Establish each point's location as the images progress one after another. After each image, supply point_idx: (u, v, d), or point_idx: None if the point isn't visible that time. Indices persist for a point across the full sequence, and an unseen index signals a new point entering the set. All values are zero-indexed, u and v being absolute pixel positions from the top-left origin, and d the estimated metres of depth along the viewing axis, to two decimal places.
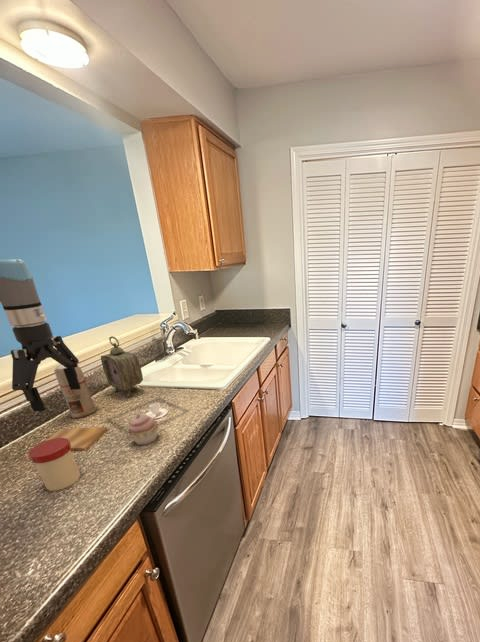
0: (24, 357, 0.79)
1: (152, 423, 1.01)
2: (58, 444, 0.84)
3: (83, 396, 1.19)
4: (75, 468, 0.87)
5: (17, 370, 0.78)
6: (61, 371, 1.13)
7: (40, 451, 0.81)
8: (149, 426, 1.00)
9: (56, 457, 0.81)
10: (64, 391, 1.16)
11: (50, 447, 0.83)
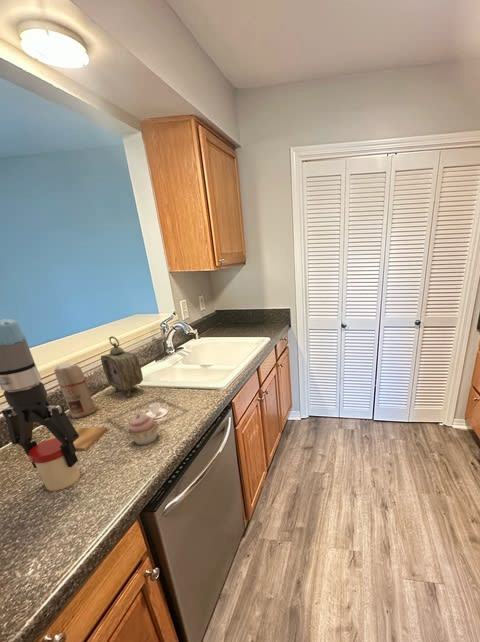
0: (7, 417, 0.78)
1: (152, 423, 1.01)
2: (58, 444, 0.84)
3: (83, 396, 1.19)
4: (75, 468, 0.87)
5: None
6: (61, 371, 1.13)
7: (40, 451, 0.81)
8: (149, 426, 1.00)
9: (56, 457, 0.81)
10: (64, 391, 1.16)
11: (50, 447, 0.83)
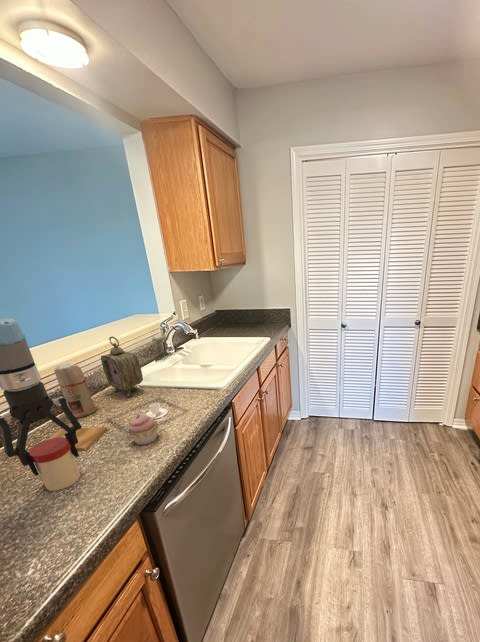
0: (6, 425, 0.74)
1: (152, 423, 1.01)
2: (55, 441, 0.85)
3: (83, 396, 1.19)
4: (75, 468, 0.87)
5: (3, 437, 0.75)
6: (61, 371, 1.13)
7: (47, 450, 0.81)
8: (149, 426, 1.00)
9: (69, 448, 0.84)
10: (64, 391, 1.16)
11: (51, 445, 0.83)
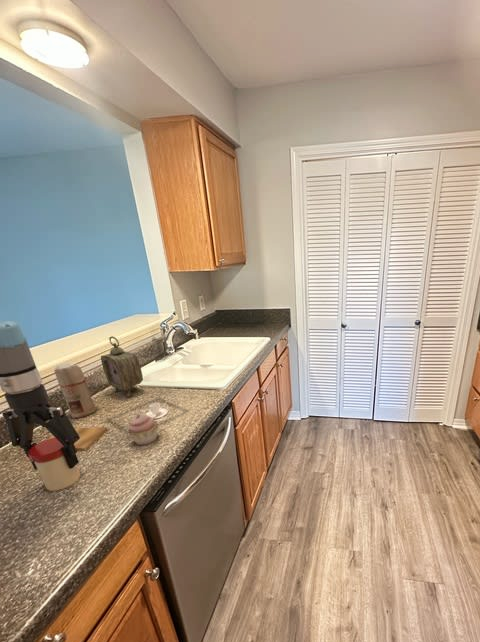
0: (8, 419, 0.78)
1: (152, 423, 1.01)
2: (49, 442, 0.85)
3: (83, 396, 1.19)
4: (75, 468, 0.87)
5: None
6: (61, 371, 1.13)
7: (53, 447, 0.82)
8: (149, 426, 1.00)
9: None
10: (64, 391, 1.16)
11: (51, 444, 0.83)
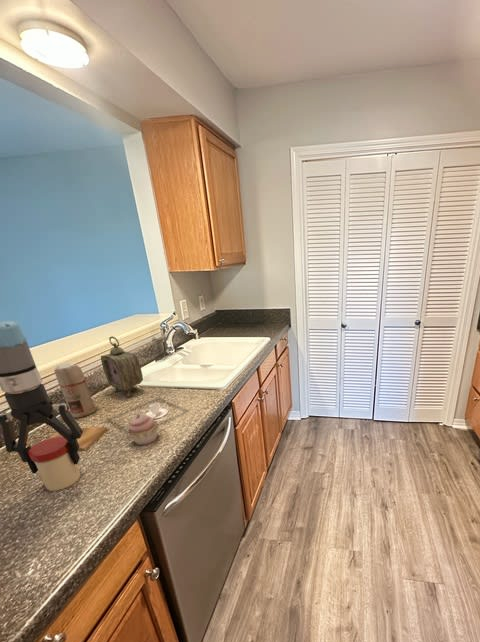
0: (4, 423, 0.77)
1: (152, 423, 1.01)
2: (46, 443, 0.84)
3: (83, 396, 1.19)
4: (75, 468, 0.87)
5: None
6: (61, 371, 1.13)
7: (55, 445, 0.83)
8: (149, 426, 1.00)
9: None
10: (64, 391, 1.16)
11: (50, 444, 0.84)
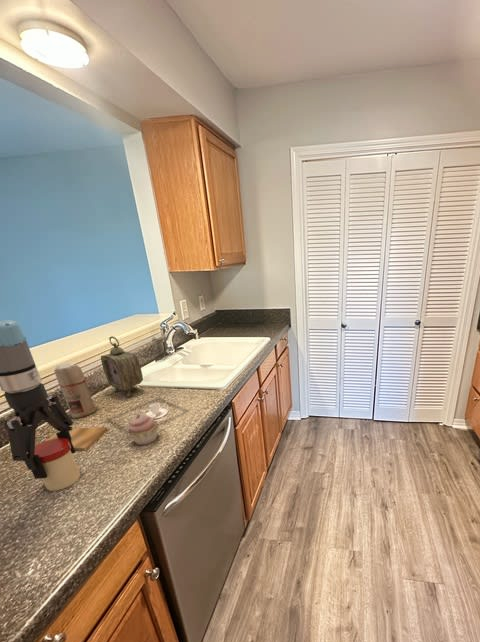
0: (19, 427, 0.74)
1: (152, 423, 1.01)
2: (39, 449, 0.82)
3: (83, 396, 1.19)
4: (75, 468, 0.87)
5: (15, 441, 0.74)
6: (61, 371, 1.13)
7: (56, 443, 0.85)
8: (149, 426, 1.00)
9: None
10: (64, 391, 1.16)
11: (47, 446, 0.83)
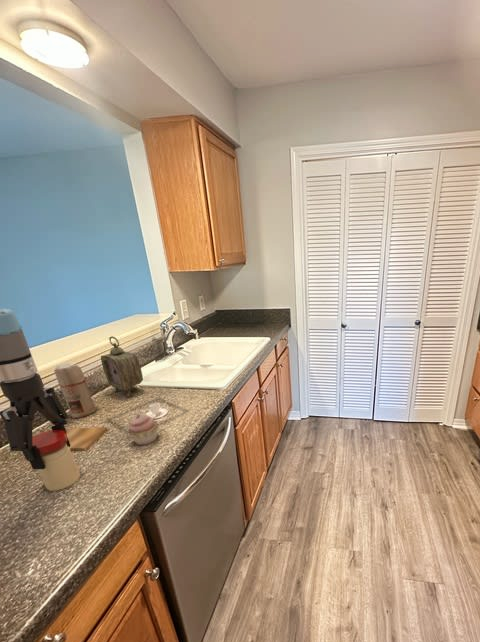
0: (16, 417, 0.73)
1: (152, 423, 1.01)
2: (43, 442, 0.80)
3: (83, 396, 1.19)
4: (75, 468, 0.87)
5: (12, 432, 0.73)
6: (61, 371, 1.13)
7: (40, 437, 0.83)
8: (149, 426, 1.00)
9: None
10: (64, 391, 1.16)
11: (42, 440, 0.82)
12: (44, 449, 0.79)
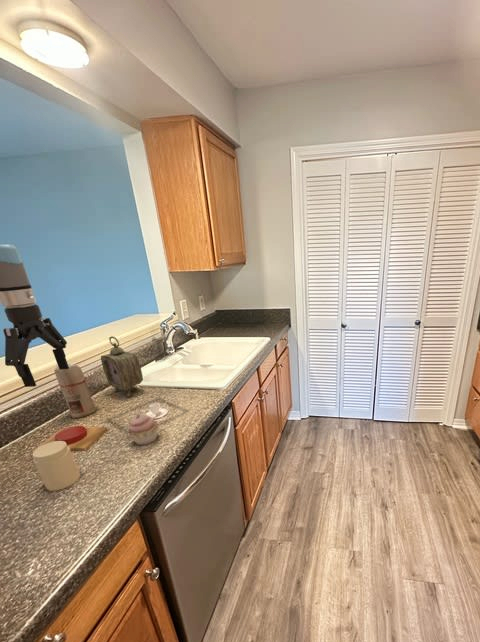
0: (16, 335, 0.86)
1: (152, 423, 1.01)
2: (69, 435, 1.03)
3: (83, 396, 1.19)
4: (75, 468, 0.87)
5: (9, 347, 0.85)
6: (61, 371, 1.13)
7: (66, 431, 1.06)
8: (149, 426, 1.00)
9: None
10: (64, 391, 1.16)
11: (68, 433, 1.04)
12: (70, 440, 1.02)
